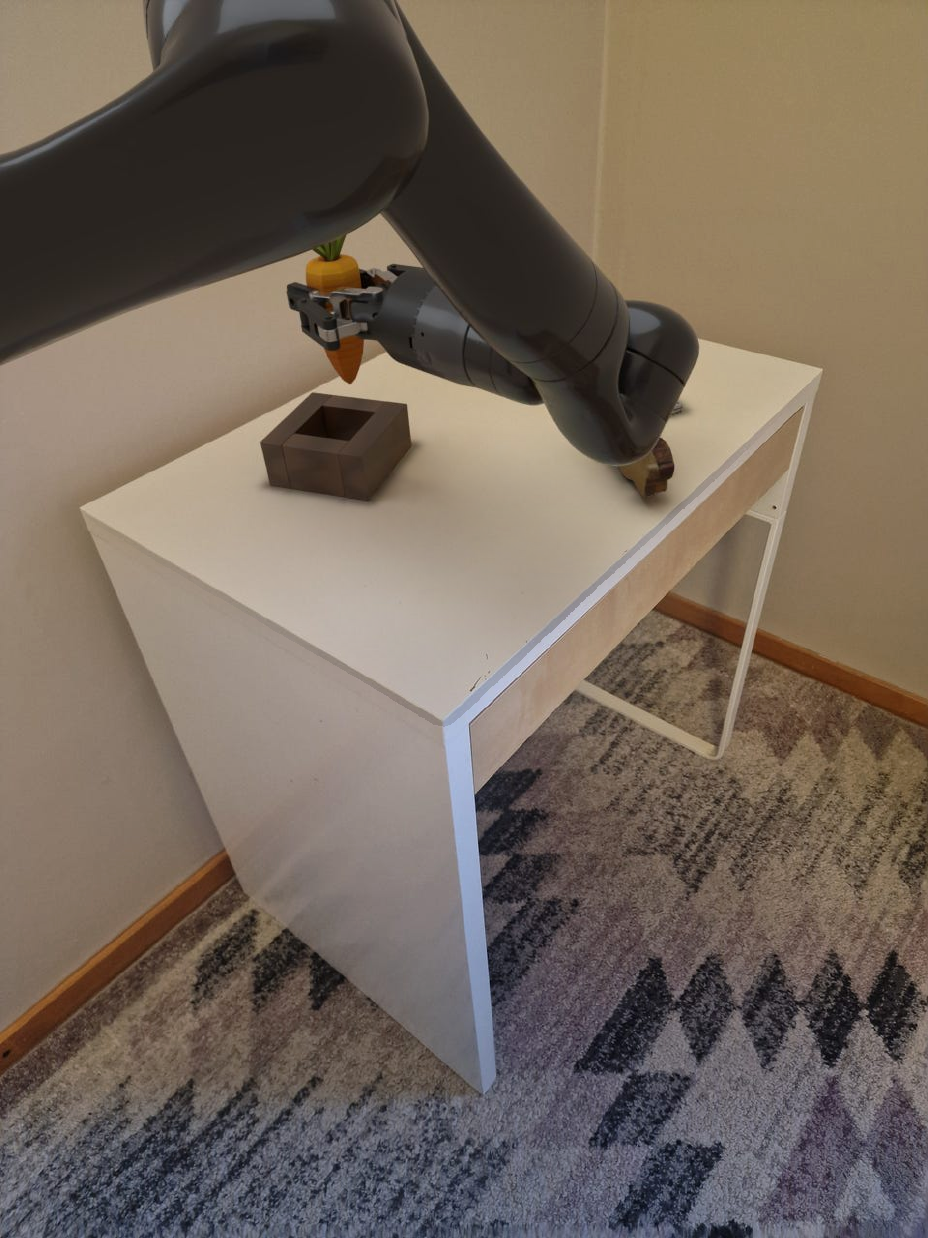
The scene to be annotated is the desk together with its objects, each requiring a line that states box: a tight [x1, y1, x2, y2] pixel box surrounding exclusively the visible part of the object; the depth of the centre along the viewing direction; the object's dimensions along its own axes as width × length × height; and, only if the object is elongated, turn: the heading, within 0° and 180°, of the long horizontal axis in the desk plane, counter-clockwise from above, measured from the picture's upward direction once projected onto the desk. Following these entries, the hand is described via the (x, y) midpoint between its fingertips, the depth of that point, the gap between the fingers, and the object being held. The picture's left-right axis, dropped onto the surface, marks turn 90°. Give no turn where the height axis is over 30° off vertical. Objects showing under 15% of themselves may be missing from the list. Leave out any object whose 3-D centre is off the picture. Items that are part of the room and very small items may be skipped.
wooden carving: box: [616, 437, 676, 498], centre depth 83 cm, size 16×5×10 cm, turn 16°
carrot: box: [305, 235, 365, 385], centre depth 75 cm, size 5×5×15 cm
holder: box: [259, 392, 412, 502], centre depth 88 cm, size 11×11×5 cm
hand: (316, 285), depth 76 cm, fingers closed on carrot, 4 cm apart
